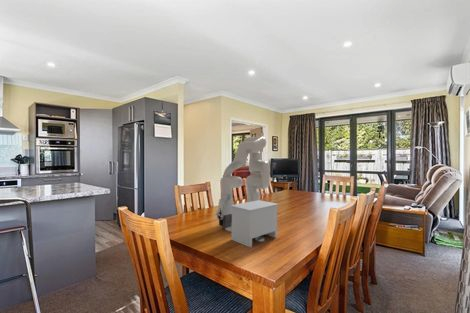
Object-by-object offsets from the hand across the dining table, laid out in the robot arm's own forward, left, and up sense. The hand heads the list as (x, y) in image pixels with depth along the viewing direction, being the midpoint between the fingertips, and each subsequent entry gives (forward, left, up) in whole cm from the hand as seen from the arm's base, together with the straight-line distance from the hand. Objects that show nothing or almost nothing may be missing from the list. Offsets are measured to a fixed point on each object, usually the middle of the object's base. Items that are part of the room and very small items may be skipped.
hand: (226, 224), depth 147 cm
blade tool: (0, +10, -2) cm, 10 cm away
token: (0, +28, -3) cm, 29 cm away
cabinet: (0, +24, -2) cm, 25 cm away
